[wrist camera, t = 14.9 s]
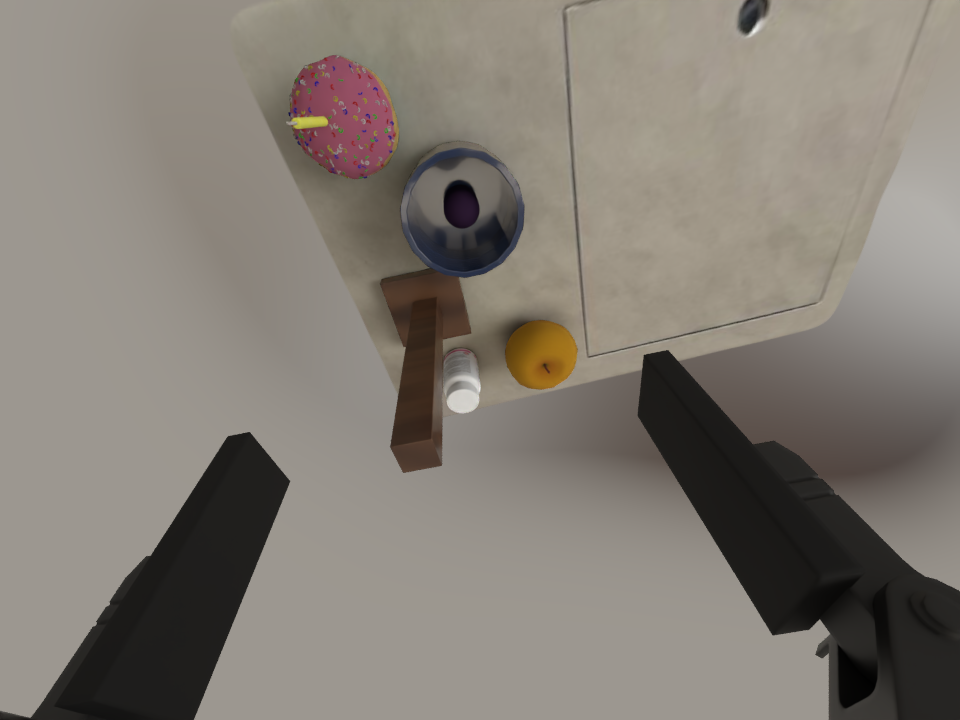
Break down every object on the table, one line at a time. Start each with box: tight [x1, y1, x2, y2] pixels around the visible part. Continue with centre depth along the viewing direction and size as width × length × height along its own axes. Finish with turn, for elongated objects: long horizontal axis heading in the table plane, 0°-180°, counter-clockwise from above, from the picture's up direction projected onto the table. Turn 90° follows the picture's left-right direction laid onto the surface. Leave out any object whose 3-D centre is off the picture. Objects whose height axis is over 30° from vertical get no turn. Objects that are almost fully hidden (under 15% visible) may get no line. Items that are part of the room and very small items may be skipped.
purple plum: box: [444, 185, 480, 229], centre depth 36 cm, size 4×4×5 cm
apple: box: [505, 320, 578, 390], centre depth 46 cm, size 9×9×9 cm
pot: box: [400, 141, 524, 278], centre depth 36 cm, size 11×11×7 cm
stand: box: [380, 269, 471, 473], centre depth 36 cm, size 9×9×24 cm
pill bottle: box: [443, 348, 481, 413], centre depth 47 cm, size 5×5×8 cm
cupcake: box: [286, 55, 399, 179], centre depth 29 cm, size 9×8×12 cm
